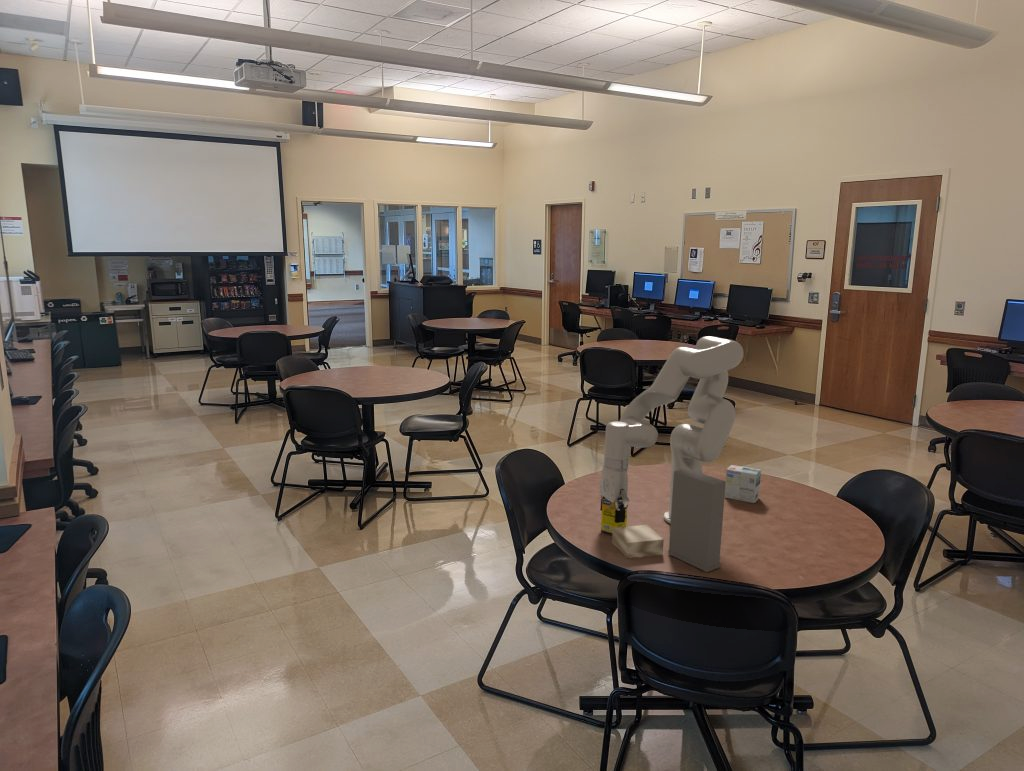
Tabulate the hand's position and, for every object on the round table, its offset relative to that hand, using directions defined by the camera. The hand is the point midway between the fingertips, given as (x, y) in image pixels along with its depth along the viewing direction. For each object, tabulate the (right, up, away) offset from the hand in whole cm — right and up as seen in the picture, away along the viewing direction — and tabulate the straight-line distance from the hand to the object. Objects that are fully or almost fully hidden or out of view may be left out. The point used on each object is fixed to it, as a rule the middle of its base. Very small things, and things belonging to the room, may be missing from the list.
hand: (612, 516), depth 212 cm
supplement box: (+1, -5, +1) cm, 5 cm away
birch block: (+6, -8, -10) cm, 14 cm away
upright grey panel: (+20, -9, -18) cm, 29 cm away
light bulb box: (+50, 0, +32) cm, 60 cm away
